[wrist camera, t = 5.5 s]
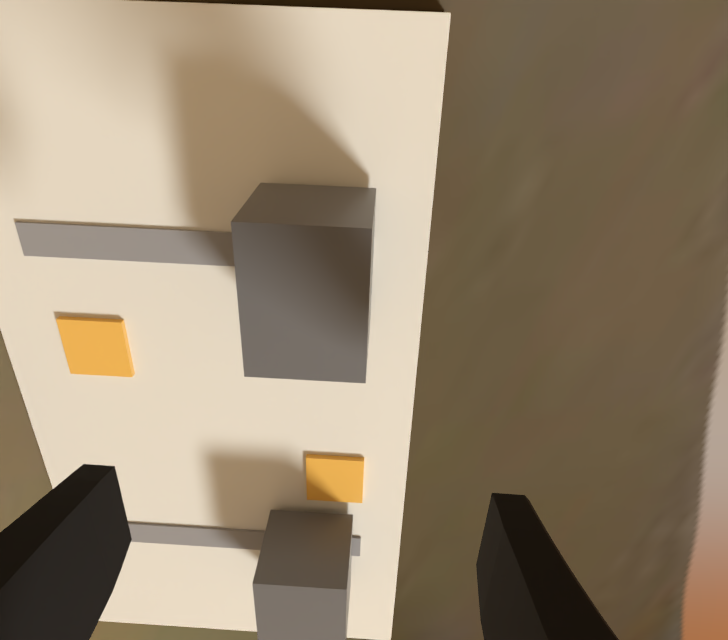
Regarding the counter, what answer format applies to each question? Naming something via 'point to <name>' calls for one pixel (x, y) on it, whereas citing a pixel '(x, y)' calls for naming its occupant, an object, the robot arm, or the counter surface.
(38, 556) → the robot arm
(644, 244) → the counter surface
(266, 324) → the switch
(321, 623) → the switch
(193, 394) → the switch console
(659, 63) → the counter surface
